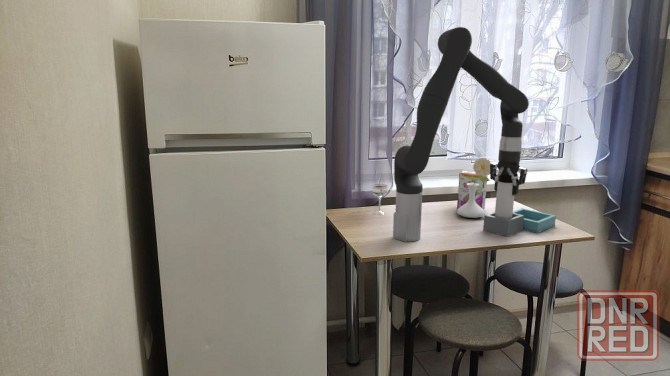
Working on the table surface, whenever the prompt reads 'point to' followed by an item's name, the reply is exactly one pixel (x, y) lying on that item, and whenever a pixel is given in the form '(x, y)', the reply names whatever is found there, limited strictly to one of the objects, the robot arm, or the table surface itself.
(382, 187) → the wineglass
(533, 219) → the tray
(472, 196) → the flower in vase
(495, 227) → the holder sleeve
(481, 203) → the candy bar box
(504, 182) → the travel mug
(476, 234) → the table surface
